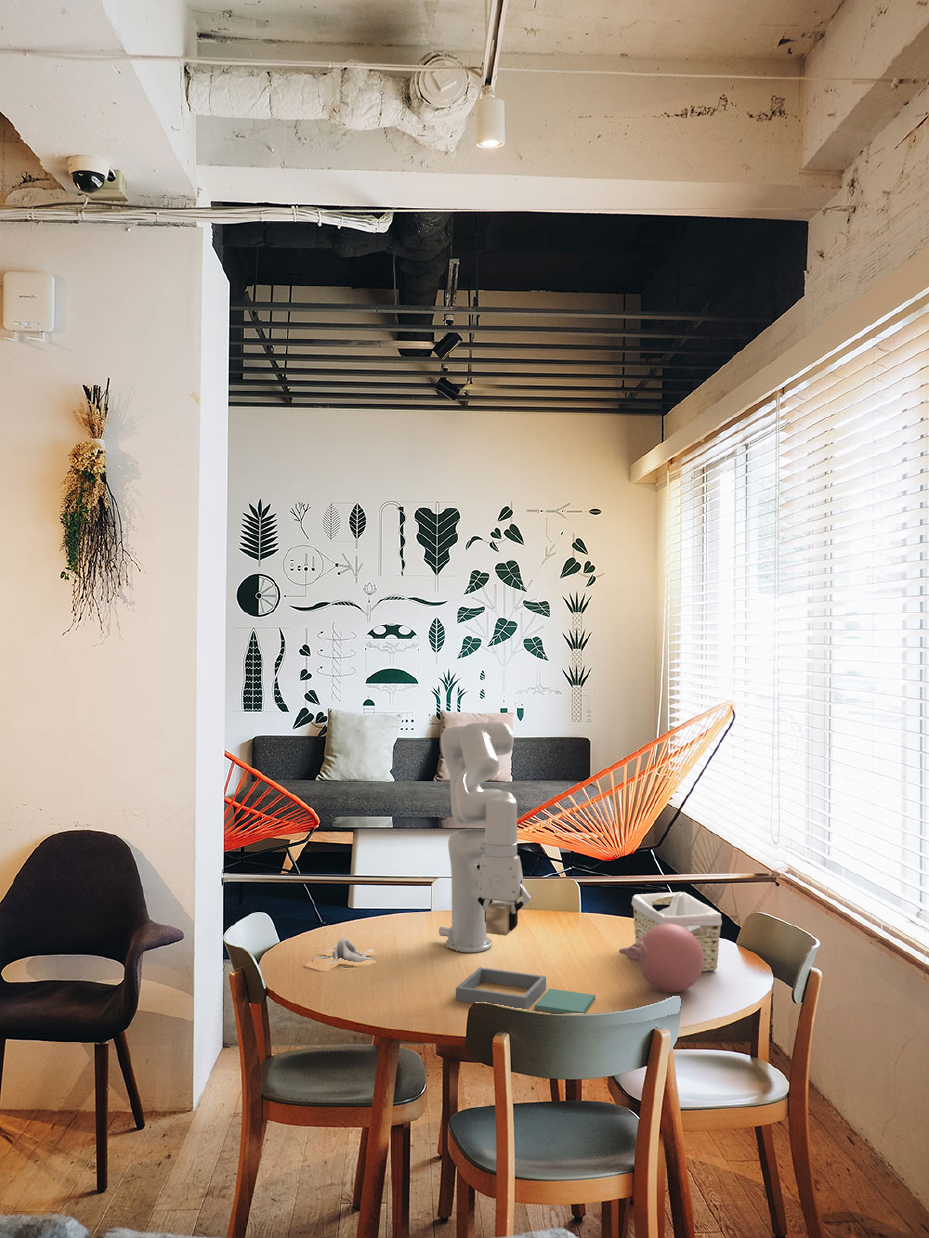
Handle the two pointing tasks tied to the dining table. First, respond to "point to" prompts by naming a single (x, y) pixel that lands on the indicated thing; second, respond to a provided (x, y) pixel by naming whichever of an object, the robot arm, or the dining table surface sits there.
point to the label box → (498, 918)
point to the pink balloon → (668, 957)
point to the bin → (534, 982)
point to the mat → (565, 1001)
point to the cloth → (346, 952)
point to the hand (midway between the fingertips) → (501, 926)
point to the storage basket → (680, 920)
